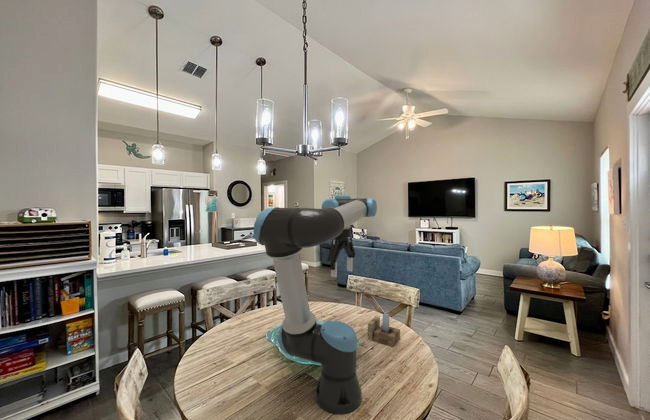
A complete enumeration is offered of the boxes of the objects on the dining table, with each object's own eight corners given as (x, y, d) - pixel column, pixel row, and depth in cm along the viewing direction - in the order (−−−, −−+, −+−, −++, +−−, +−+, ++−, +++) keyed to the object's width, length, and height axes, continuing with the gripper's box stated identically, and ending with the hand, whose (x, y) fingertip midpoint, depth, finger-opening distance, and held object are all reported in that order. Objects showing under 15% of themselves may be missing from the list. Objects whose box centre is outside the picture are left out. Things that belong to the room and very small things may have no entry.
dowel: (387, 342, 125) (387, 316, 126) (381, 340, 127) (381, 314, 127) (390, 340, 128) (390, 314, 128) (383, 338, 130) (384, 312, 130)
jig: (401, 352, 119) (401, 332, 119) (367, 341, 128) (367, 323, 128) (408, 343, 126) (408, 324, 126) (375, 334, 135) (375, 316, 135)
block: (393, 347, 121) (393, 337, 121) (374, 341, 126) (374, 331, 126) (400, 339, 128) (400, 329, 128) (381, 333, 134) (381, 324, 133)
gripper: (333, 230, 116) (333, 280, 116) (362, 227, 136) (362, 270, 136) (319, 229, 120) (319, 278, 120) (349, 226, 140) (349, 268, 141)
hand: (342, 273), depth 128 cm, fingers open, 13 cm apart
